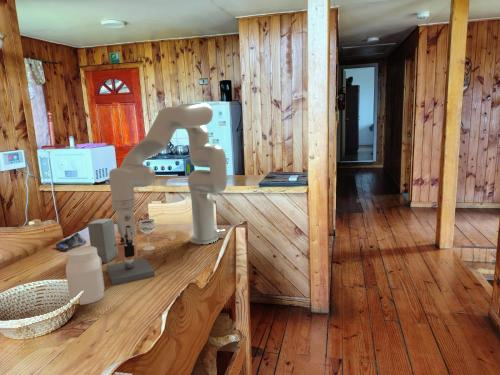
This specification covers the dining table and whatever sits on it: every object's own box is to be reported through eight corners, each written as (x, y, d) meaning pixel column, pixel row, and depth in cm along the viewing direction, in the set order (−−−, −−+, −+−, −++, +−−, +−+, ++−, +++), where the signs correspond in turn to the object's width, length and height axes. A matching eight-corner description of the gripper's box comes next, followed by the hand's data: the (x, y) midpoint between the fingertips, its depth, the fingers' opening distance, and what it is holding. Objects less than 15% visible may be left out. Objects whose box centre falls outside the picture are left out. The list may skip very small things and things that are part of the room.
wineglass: (137, 250, 159) (134, 222, 157) (147, 244, 165) (145, 218, 163) (150, 251, 157) (148, 223, 154) (160, 246, 163) (158, 219, 160)
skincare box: (107, 263, 145) (103, 223, 142) (90, 262, 147) (86, 223, 144) (119, 255, 153) (115, 217, 151) (103, 254, 155) (99, 217, 152)
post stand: (145, 262, 145) (144, 245, 143) (154, 276, 132) (153, 257, 131) (106, 270, 138) (104, 252, 137) (112, 285, 126) (110, 265, 125)
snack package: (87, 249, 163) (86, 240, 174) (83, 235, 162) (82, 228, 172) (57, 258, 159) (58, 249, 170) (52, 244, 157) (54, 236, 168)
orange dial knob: (135, 251, 138) (134, 238, 137) (139, 256, 133) (138, 243, 132) (117, 254, 135) (115, 241, 134) (120, 260, 130) (118, 246, 129)
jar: (103, 301, 115) (97, 254, 112) (68, 307, 112) (62, 259, 109) (105, 285, 126) (100, 242, 123) (73, 290, 123) (68, 246, 120)
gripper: (139, 207, 125) (144, 259, 128) (130, 198, 140) (133, 244, 143) (116, 210, 121) (121, 263, 125) (108, 200, 136) (113, 248, 140)
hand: (127, 253), depth 134 cm, fingers closed on orange dial knob, 6 cm apart
